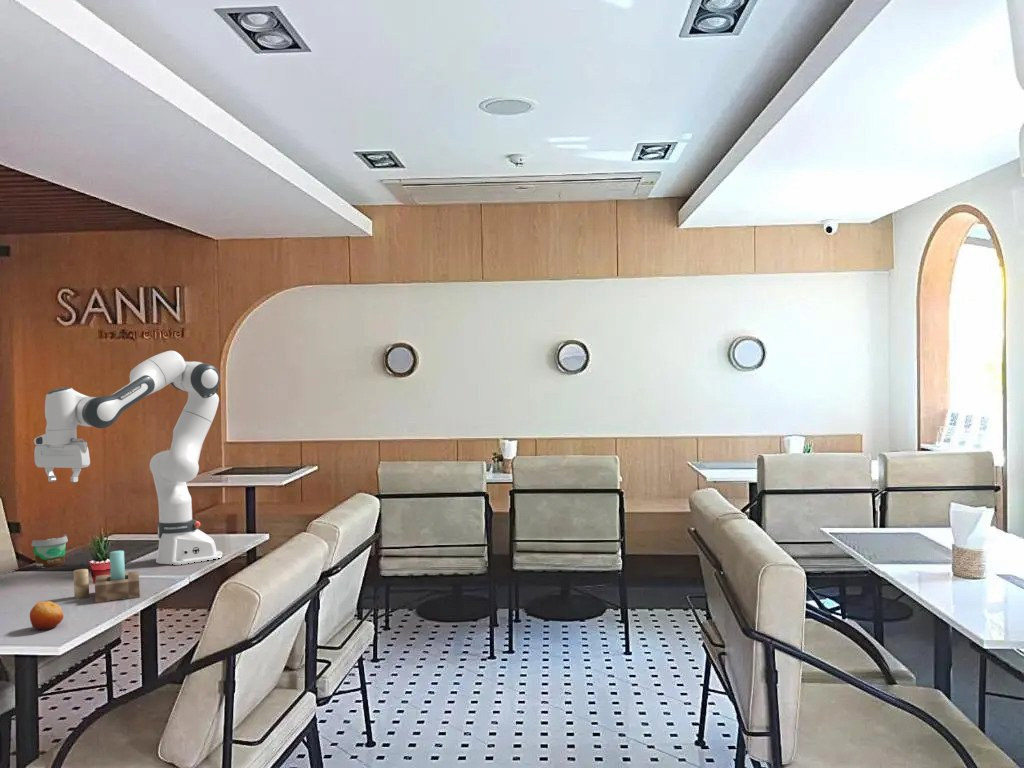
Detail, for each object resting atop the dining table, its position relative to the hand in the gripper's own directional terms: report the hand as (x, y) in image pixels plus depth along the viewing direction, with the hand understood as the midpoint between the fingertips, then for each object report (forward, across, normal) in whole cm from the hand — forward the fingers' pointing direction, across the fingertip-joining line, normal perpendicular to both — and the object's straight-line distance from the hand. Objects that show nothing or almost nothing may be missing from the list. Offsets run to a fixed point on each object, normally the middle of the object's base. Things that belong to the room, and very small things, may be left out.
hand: (63, 481), depth 282 cm
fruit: (+34, -35, +38) cm, 62 cm away
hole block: (+33, -27, +6) cm, 43 cm away
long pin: (+33, -27, +5) cm, 43 cm away
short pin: (+33, -18, +10) cm, 39 cm away
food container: (+33, +28, -20) cm, 48 cm away
